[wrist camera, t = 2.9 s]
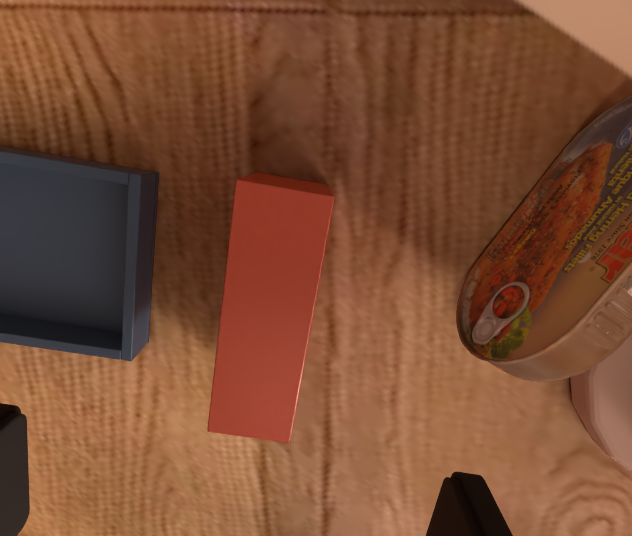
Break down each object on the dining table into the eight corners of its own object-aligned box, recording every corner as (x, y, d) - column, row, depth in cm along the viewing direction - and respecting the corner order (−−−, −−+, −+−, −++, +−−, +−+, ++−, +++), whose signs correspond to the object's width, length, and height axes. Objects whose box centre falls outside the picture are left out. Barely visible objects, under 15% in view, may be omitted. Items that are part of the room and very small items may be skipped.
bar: (231, 367, 25) (206, 432, 19) (256, 172, 22) (235, 178, 16) (295, 376, 25) (289, 443, 19) (329, 184, 22) (335, 196, 16)
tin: (615, 82, 21) (811, 37, 12) (658, 118, 21) (874, 97, 13) (434, 311, 24) (497, 392, 16) (475, 337, 24) (556, 429, 16)
